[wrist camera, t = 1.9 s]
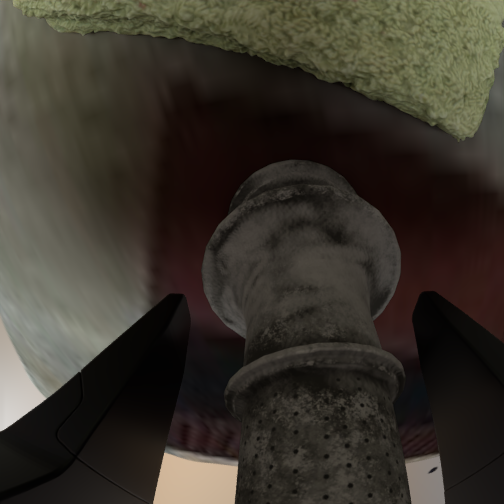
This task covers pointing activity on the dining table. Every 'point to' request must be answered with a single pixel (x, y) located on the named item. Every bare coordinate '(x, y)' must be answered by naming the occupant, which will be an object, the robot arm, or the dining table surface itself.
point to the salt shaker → (309, 339)
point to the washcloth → (330, 43)
